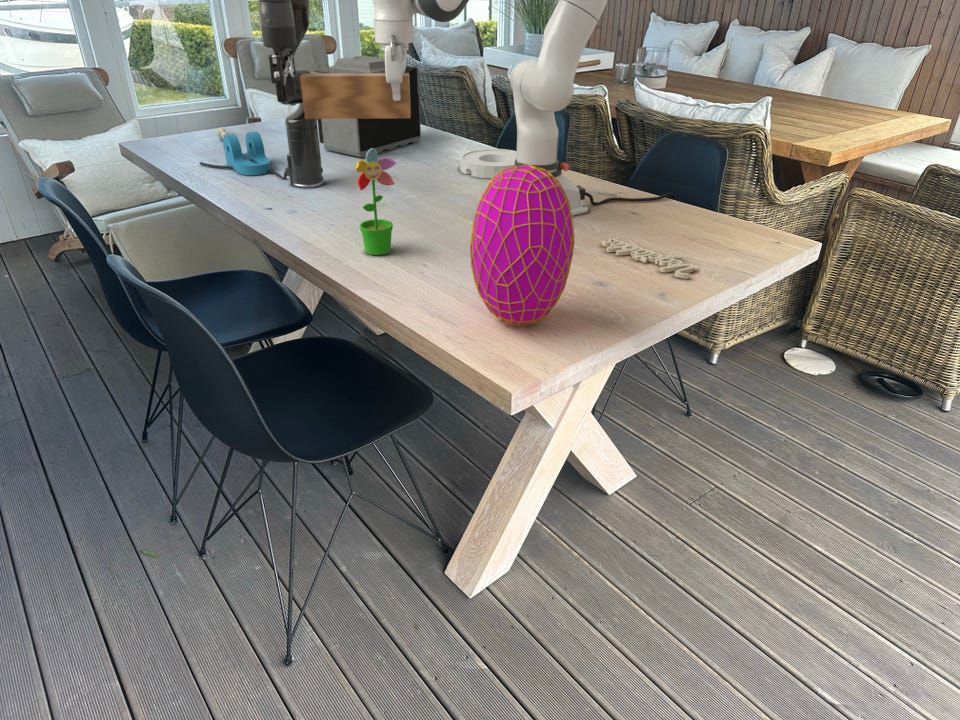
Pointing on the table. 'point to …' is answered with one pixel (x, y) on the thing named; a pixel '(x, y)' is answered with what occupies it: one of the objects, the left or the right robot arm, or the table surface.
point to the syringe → (222, 133)
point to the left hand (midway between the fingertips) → (286, 98)
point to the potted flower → (377, 229)
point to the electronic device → (374, 131)
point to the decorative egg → (522, 244)
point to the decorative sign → (651, 257)
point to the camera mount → (246, 154)
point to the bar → (353, 96)
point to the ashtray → (486, 162)
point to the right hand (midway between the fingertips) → (397, 97)
